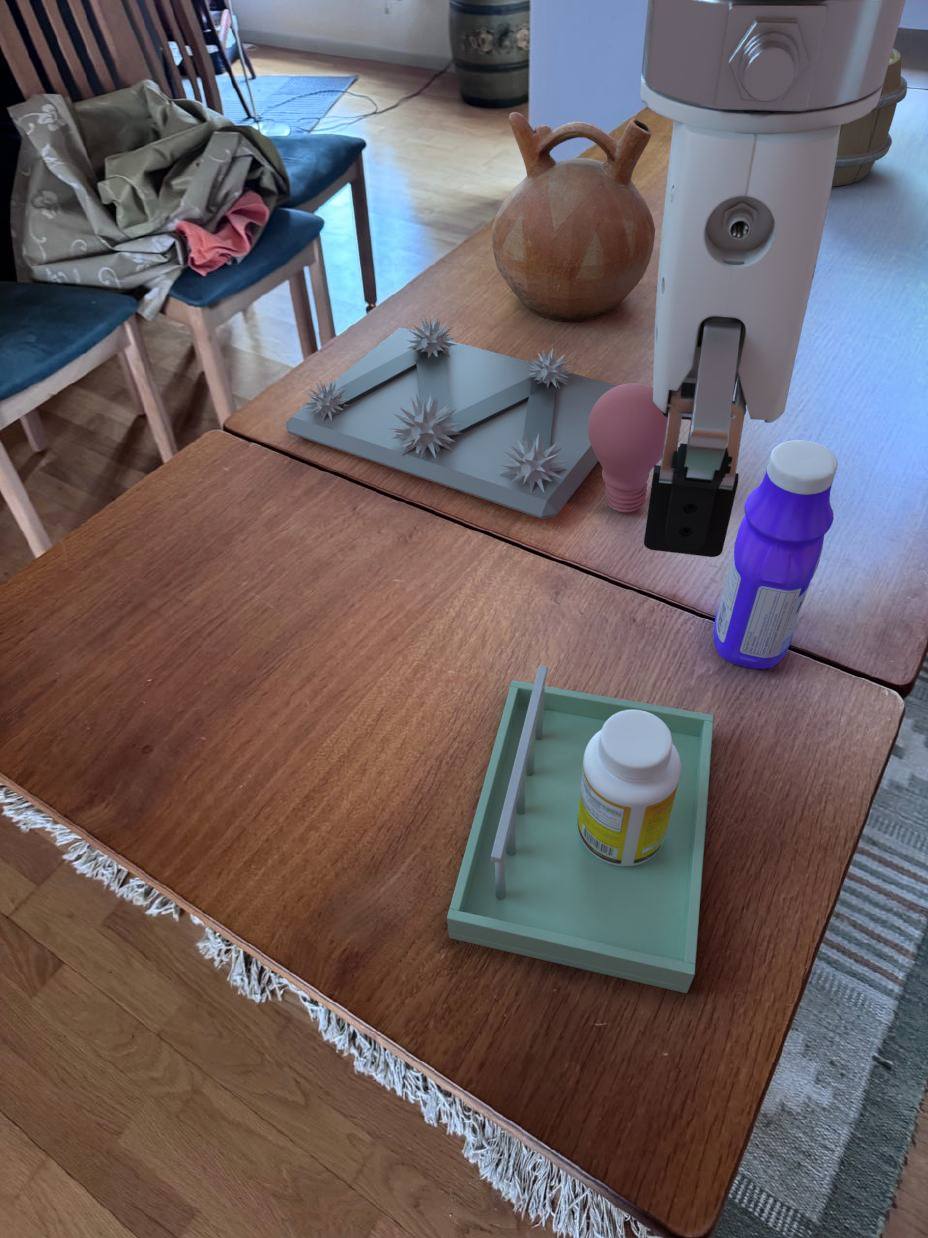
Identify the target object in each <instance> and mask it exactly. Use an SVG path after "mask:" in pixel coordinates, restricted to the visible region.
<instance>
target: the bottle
mask: <svg viewBox="0 0 928 1238" xmlns="http://www.w3.org/2000/svg"><path fill="white" fill-rule="evenodd" d="M838 466H839V461H838V459H837V457H836V455H835V453H834V452H833V451H832V450H831V449H829V448H828V447H826V446H824V445H822V444H820V443H818V442H815V441H810V440H804V439H793V440H786V441H784V442H781V443H779V444H777V446H775V447H774V448H773V449H772V451H771V453H770V455H769V461H768V463H767V466H766V471H765V473H764V476H763V479H762V481H761V483H760V484H759V486H757V487H755V489H753V490H752V491H751V492H750V493H749V494H748V496H747V497H746V499H745V501H744V505H743V510H744V516H743V518H742V519H741V522H740V524H739V527H738V530H737V533H736V538H735V540H734V541H735V542H734V547H733V554H732V558H731V561H730V566H729V569H728V572H727V577H726V580H725V583H724V587H723V592H722V594H721V598H720V601H719V602H720V603H719V605H718V606H717V610H716V614H715V616H714V617H715V618H714V625H713V640H714V646H715V649H716V651H717V654H718V656H720V658H723V659H724V660H726V661H727V662H729V663H732V664H734V665H736V666H739V667H740V666H741V667H747V668H749V669H758V670H763V669H772V668H773V667H775V666H777V664H778V663H780V662H781V661H782V660H783V658H784V657H785V656H786V654H787V652H788V650H789V648H790V646H791V643H792V639H793V635H794V630H795V628H796V625H797V621H798V618H799V616H800V613H801V610H802V607H803V604H804V601H805V599H806V595H807V592H808V590H809V588H810V585H811V582H812V580H813V577H814V576H815V574H816V572H817V570H818V567H819V563H820V560H821V556H822V552H823V548H824V540H825V535H826V534H827V533H828V532H829V530H830V529H831V527H832V525H833V522H834V519H835V518H834V517H835V516H834V510H833V508H832V505H831V499H830V498H831V491H832V486H833V483H834V480H835V476H836V473H837V470H838Z"/></svg>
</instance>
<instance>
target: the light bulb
mask: <svg viewBox="0 0 928 1238" xmlns="http://www.w3.org/2000/svg"><path fill="white" fill-rule="evenodd" d="M667 419H668V417H665V416H664V415H663V413H662V411H661V410H660V409H659V408H658V407H657V406H656V404H655V403H654V402H653V386H650V385H648V384H646V383H641V382H640V383H639V382H638V383H637V382H627V383H621V384H619V386H616V387H614V388H612V389H610V390H609V391H607V392H606V393H605V394H603V395H602V396H601V397H600V398H599V400H598V401H597V402H596V404H595V405H594V407H593V409H592V411H591V414H590V417H589V422H588V436H589V440H590V443H591V446H592V448H593V450H594V452H595V455H596V457H597V459H598V460H599V461H598V462H599V464H600V466H601V467H602V471H601V475H602V479H603V481H604V482H605V494H606V496H605V497H606V498H605V501H606V504H607V506H608V507H609V508H611V509H612V510H614V511H616V512H618V513H619V512H620V513H631V512H634V511H637V510H639V509H641V508H642V507H643V506H644V504H645V502H646V497H647V494H648V493H647V492H648V485H649V484H648V482H649V479H650V472H651V471H652V470H654V465H658V464H659V463H660V461H662V455H663V448H664V441H665V433H666V426H667Z"/></svg>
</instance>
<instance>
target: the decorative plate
mask: <svg viewBox="0 0 928 1238" xmlns="http://www.w3.org/2000/svg"><path fill="white" fill-rule="evenodd" d="M423 318H424V320H423V319H422V318H420V320H421V321H419V325H420V328H421V329H420V328H419V327H418V326H416V325H413V327H414V328H412V329H408V328H404V327H402V326H401V327H400V326H399V327H398V328H397V329H395V330H394V331H393V332H392V333H391V334H390V335H389V336H387V337H386V338H385V339H384V340H382V341H381V342H380V343H379V344H378V345H376V346H375V347H374V348H373V349H371V350H370V351H369V352H368V353H367V354H365V355H364V356H363V357H362V358H361V359H359V360H358V361H357V362H356V363H354V364H353V365H352V366H350V368H349V369H347V370H346V371H345V372H344V373H342V374H341V375H340V376H339V377H338V378H337V379H335V380H333V381H332V382H331V379H329V380H328V381H329V382H328V384H327V387H326V385H325V383H324V382H323V383H322V380H319V383H320V385H319V384H318V383H317V382H315V384H316V387H317V391H318V392H316V391H314V390H313V389H311V388H309V389H308V390H309V392H310V393H311V394H310V393H308V392H305V394H306V395H308V397H310V398H311V400H308V401H303V403H305V404H304V406H302V407H301V408H300V409H299V410H298V411H297V412H296V413H294V414H293V415H292V416H290V418H289V419H288V420H287V421H286V422H285V426H286V427H285V428H286V432H287V433H288V434H291V435H294V436H296V437H300V438H303V439H305V440H308V441H310V442H314V443H317V444H320V445H323V446H326V447H329V448H331V449H334V450H338V451H341V452H344V453H346V454H350V455H352V456H355V457H358V458H361V459H365V460H367V461H370V462H373V463H376V464H379V465H382V466H385V467H387V468H391V469H394V470H397V471H400V472H402V473H406V474H407V475H412V476H414V477H417V478H419V479H422V480H426V481H429V482H432V483H436V484H438V485H441V486H444V487H447V488H450V489H452V490H456V491H458V492H462V493H465V494H468V495H469V496H473V497H476V498H479V499H481V500H485V501H488V502H490V503H494V504H496V505H498V506H499V505H500V506H503V507H506V508H509V509H511V510H514V511H517V512H520V513H524V514H525V515H529V516H531V517H535V518H538V519H541V520H544V521H547V520H550V519H552V518H554V517H555V516H557V515H559V513H560V511H561V510H562V509H563V508H564V506H565V504H567V502H568V501H569V500H570V499H571V497H572V496H573V495H574V493H575V492H576V491H577V490H578V488H579V487H580V486H581V485H582V483H583V482H584V480H585V479H586V478H587V477H588V475H589V474H590V472H591V471H592V470H593V468H594V467H595V466H596V465H597V464H598V462H599V460H598V459H597V457H596V455H595V452H594V450H593V448H592V446H591V443H590V440H589V436H588V422H589V417H590V414H591V411H592V409H593V407H594V405H595V404H596V402H597V401H598V400H599V398H600V397H601V396H602V395H603V394H605V393H606V392H607V391H609V390H610V389H612V388H614V387H616V386H619V385H620V384H619V385H618V384H615V383H611V382H607V381H603V380H600V379H596V378H592V377H589V376H585V375H582V374H576V373H573V372H569V370H570V369H571V366H564V365H565V363H566V362H567V360H568V359H569V357H568V358H565V354H566V353H564V354H563V355H562V356H560V357H559V358H558V359H556V358H557V353H558V349H556V350H555V352H554V347H551V348H552V349H551V350H550V351H549V352H548V355H547V353H546V351H545V349H544V348H542V350H540V351H541V354H540V353H539V352H537V354H538V355H537V356H538V357H539V358H538V357H537V356H535V355H534V358H535V359H533V358H529V359H530V360H525V359H521V358H517V357H513V356H510V355H505V354H502V353H498V352H495V351H490V350H487V349H483V348H480V347H475V346H472V345H468V344H464V343H461V342H457V341H453V340H454V339H456V338H457V336H450V335H451V334H450V333H449V332H450V331H451V330H452V329H453V328H454V326H452V327H450V325H447V324H448V322H446V323H444V325H443V326H441V320H440V319H439V318H440V317H439V316H438V318H437V320H436V316H434V317H433V321H432V320H431V319H429V323H428V321H427V318H426V317H425V316H424V317H423ZM440 326H441V327H440ZM449 327H450V328H449ZM553 352H554V355H553ZM564 358H565V359H564ZM320 386H321V387H320Z"/></svg>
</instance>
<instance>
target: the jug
mask: <svg viewBox="0 0 928 1238" xmlns="http://www.w3.org/2000/svg"><path fill="white" fill-rule="evenodd" d="M508 122H509V125H510V127H511V131H512V133H513V136H514V139H515V142H516V145H517V146H518V149H519V152H520V155H521V157H522V161H523V163H524V167H525V172H526V176H525V177H524V178H523V180H521V181H520V182H519V183H518V184H517V185H516V186H515V187H514V188H513V189H512V190H511V191H510V192H509V193H508V194H507V195H506V197H505V199H504V201H503V202H502V204H501V206H500V207H499V209H498V211H497V212H496V215H495V217H494V219H493V223H492V226H491V244H492V250H493V257H494V261H495V264H496V267H497V271H498V272H499V273H500V275H501V276H502V278H503V280H504V282H505V283H506V284H507V286H508V288H510V290H511V291H512V292H513V294H514V295H515V296H516V297H517V298H518V299H519V300H520V301H521V302H522V304H523V305H524V306H525V307H526V308H527V309H529V311H530V312H532V313H534V314H536V315H538V316H541V317H542V318H545V319H549V320H553V321H557V322H558V321H559V322H566V323H570V322H584V321H586V322H587V321H590V320H594V319H598V318H600V317H604V316H606V315H607V314H609V313H610V312H612V311H613V310H614V309H615V308H617V306H618V305H620V304H621V302H623V301H624V300H625V299H626V298H627V297H628V295H630V293H632V292H633V290H634V289H635V288H636V287H637V286H638V284H639V282H640V281H641V279H642V278H643V277H644V275H645V273H646V271H647V269H648V267H649V264H650V261H651V259H652V254H653V251H654V245H655V244H654V243H655V236H656V228H655V227H656V226H655V223H654V219H653V215H652V213H651V211H650V208H649V206H648V204H647V201H646V198H644V196H643V195H642V194H641V192H640V191H639V189H638V187H637V186H636V184H635V183H634V182H633V181H632V178H633V177H632V176H633V174H634V170H635V167H636V166H637V163H638V162H639V160H640V158H641V156H642V154H643V153H644V151H645V149H646V147H647V145H648V143H649V141H650V140H651V138H652V131H651V128H650V126H649V125H648V124H646V123H645V122H643V121H641V120H639V119H637V118H631V119H630V121H629V122H628V123H627V126H626V127H625V128H624V131H623V133H622V135H621V137H620V138H619V140H615V139H614V138H612V137H611V136H610V135H609V134H608V133H607V132H605V131H604V130H602V128H600V127H598V126H596V125H594V124H592V123H589V122H585V121H577V120H576V121H572V122H567V123H565V124H562V125H560V126H558V127H556V128H555V129H553V128H552V127H550V126H548V125H546V124H545V125H544V124H540V125H537V126H536V127H535V129H533V127H532V126H531V124H530V123H529V122H528V121H527V120H526V118H525V117H524V115H523V114H522V113H520V112H517V111H514V112H511V113H509V116H508ZM577 138H578V139H579V138H583V139H587V140H589V141H591V142H593V143H594V144H595V145H597V146H598V147H599V148H600V149H601V150H602V151H603V153H604V154H605V155H606V160H605V161H601V160H597V159H594V158H587V157H586V158H585V157H578V158H577V157H576V158H568V159H563V160H555V159H554V158H553V157H552V155H551V151H552V150H553V149H554V148H555V147H557V146H558V145H561V144H563V143H564V142H567V141H569V140H572V139H577Z"/></svg>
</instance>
